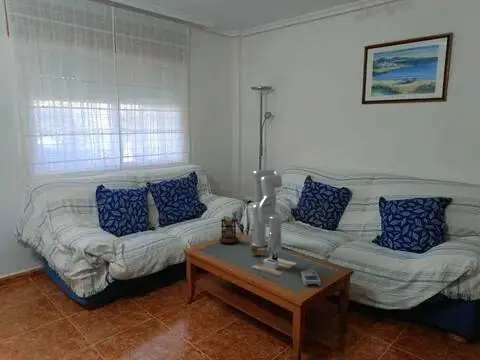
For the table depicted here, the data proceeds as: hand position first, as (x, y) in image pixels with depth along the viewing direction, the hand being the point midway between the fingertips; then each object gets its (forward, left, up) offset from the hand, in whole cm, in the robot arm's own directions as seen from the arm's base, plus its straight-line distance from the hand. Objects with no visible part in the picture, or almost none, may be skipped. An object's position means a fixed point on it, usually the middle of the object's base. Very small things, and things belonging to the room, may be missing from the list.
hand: (274, 262), depth 217 cm
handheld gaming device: (+4, +27, -3) cm, 27 cm away
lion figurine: (-7, -17, -3) cm, 19 cm away
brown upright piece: (-20, -54, -3) cm, 58 cm away
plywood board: (0, 0, -3) cm, 3 cm away
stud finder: (+5, 0, -1) cm, 5 cm away
